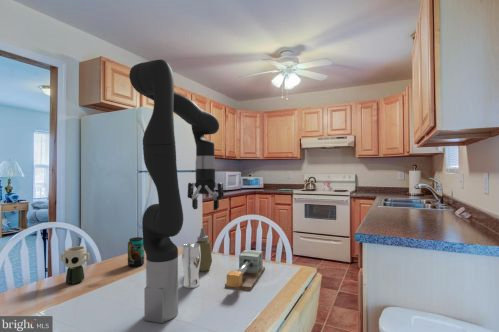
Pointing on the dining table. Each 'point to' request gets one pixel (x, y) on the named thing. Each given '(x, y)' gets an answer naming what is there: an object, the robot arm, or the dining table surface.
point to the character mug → (75, 263)
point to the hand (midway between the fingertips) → (205, 209)
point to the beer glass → (191, 264)
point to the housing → (250, 269)
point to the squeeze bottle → (204, 251)
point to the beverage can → (135, 252)
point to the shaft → (237, 275)
